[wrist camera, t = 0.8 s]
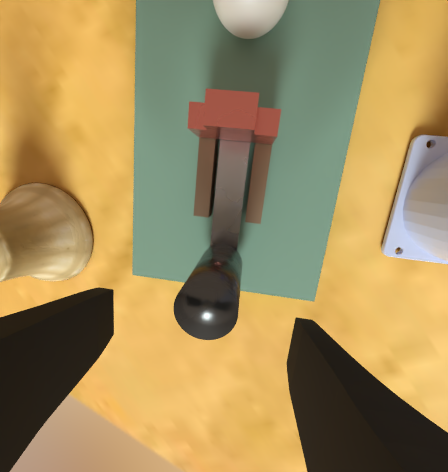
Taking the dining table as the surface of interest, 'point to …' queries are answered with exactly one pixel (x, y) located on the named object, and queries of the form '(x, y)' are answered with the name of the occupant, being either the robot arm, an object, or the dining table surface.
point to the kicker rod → (223, 209)
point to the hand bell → (42, 234)
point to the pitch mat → (283, 149)
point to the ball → (249, 16)
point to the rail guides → (208, 172)
